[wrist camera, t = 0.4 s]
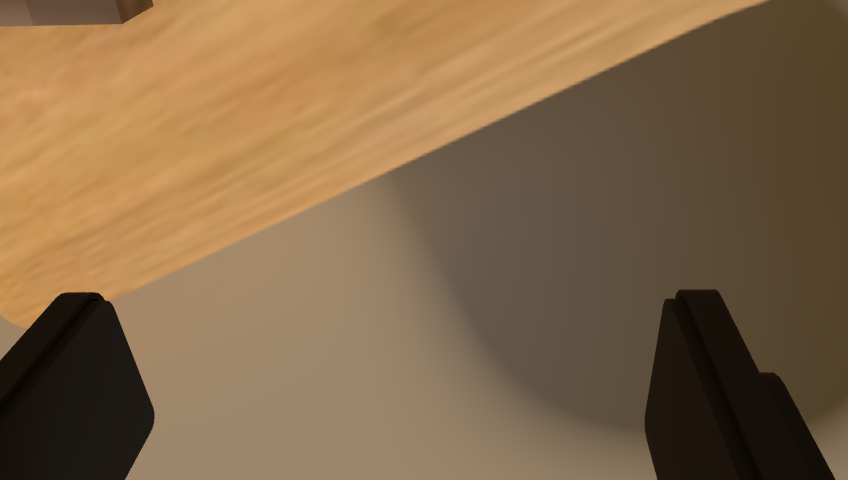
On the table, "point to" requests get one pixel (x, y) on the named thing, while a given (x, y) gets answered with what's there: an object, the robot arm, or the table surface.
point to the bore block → (69, 12)
